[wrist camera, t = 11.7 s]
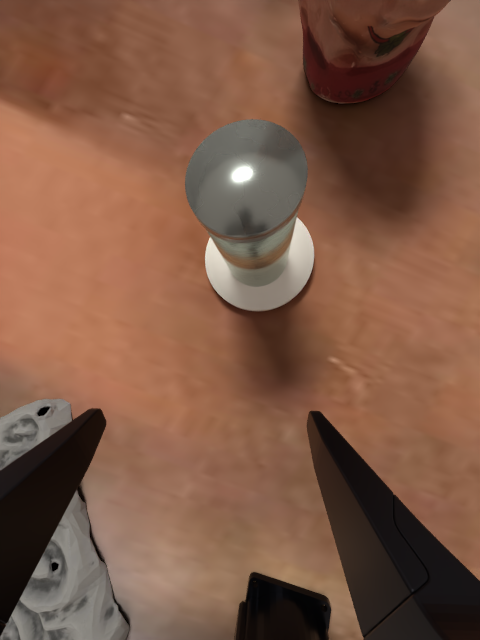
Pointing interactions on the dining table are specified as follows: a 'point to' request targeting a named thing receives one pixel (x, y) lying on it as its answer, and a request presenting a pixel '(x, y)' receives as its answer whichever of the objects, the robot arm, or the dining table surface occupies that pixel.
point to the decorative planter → (361, 44)
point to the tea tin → (249, 196)
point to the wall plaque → (60, 553)
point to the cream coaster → (272, 293)
